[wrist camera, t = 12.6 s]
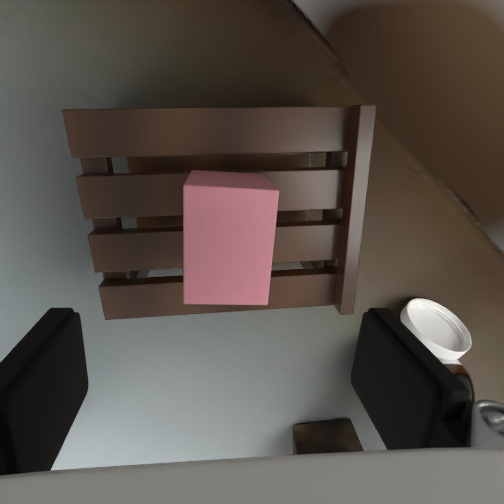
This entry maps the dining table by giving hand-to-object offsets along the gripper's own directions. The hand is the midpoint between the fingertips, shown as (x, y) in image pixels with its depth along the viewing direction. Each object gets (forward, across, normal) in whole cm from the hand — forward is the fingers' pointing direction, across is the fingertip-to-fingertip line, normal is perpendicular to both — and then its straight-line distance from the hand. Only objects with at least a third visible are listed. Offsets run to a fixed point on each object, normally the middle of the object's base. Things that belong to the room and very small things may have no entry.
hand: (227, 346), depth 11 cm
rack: (+21, 0, -1) cm, 21 cm away
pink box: (+12, 0, -1) cm, 12 cm away
